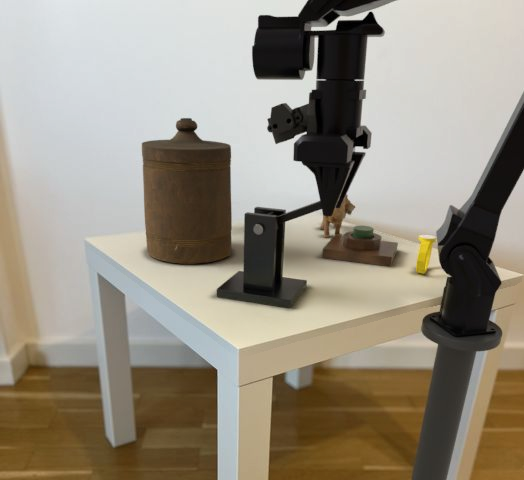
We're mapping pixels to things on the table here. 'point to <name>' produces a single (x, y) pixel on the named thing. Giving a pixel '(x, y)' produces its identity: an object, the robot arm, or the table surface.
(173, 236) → the wooden container
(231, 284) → the bracket
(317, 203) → the lever
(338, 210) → the lion figurine
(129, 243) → the table surface
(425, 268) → the watch
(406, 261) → the table surface
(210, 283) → the table surface
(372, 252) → the button box
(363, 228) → the button
